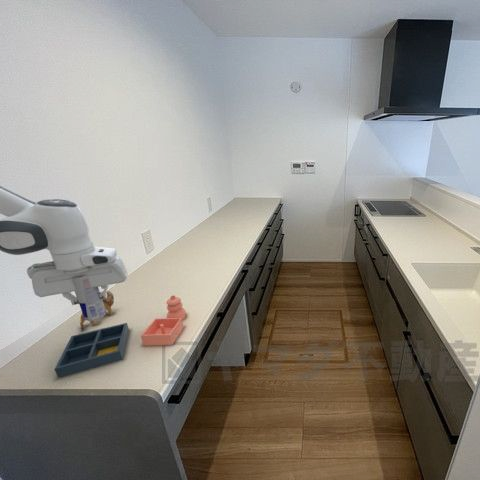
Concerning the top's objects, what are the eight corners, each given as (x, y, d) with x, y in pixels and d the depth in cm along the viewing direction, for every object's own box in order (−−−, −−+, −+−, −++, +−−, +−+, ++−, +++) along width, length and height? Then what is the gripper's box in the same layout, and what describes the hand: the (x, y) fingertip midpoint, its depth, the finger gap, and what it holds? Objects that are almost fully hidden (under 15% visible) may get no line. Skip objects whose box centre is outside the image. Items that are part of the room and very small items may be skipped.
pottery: (172, 344, 89) (166, 321, 86) (143, 345, 89) (136, 321, 85) (193, 312, 106) (189, 291, 103) (169, 313, 106) (164, 292, 102)
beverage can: (102, 310, 83) (88, 267, 77) (110, 315, 80) (95, 271, 75) (82, 318, 79) (65, 274, 73) (89, 324, 76) (73, 279, 71)
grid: (58, 378, 76) (54, 369, 75) (74, 344, 89) (71, 335, 88) (122, 359, 83) (119, 351, 82) (129, 330, 96) (126, 322, 95)
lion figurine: (109, 307, 108) (103, 288, 105) (121, 308, 108) (116, 289, 105) (75, 331, 95) (67, 310, 92) (89, 332, 94) (81, 311, 91)
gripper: (18, 270, 65) (38, 316, 70) (118, 255, 74) (130, 297, 79) (29, 260, 70) (47, 304, 75) (122, 248, 79) (132, 287, 84)
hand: (90, 300), depth 77 cm, fingers closed on beverage can, 5 cm apart
